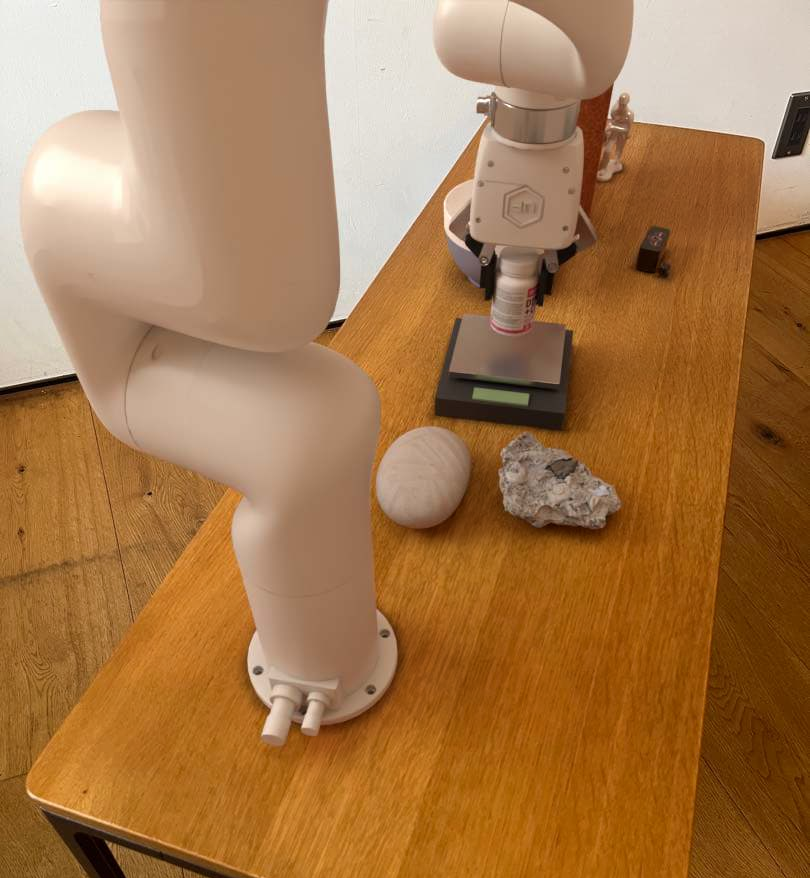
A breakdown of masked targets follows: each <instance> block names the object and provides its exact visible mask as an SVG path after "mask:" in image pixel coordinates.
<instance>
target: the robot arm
mask: <svg viewBox="0 0 810 878" xmlns="http://www.w3.org/2000/svg"><path fill="white" fill-rule="evenodd" d="M329 1H330V0H99V20H100V29H101V30H100V31H101V39H102V45H103V49H104V55H105V59H106V63H107V67H108V71H109V75H110V79H111V84H112V87H113V93H114V96H115V100H116V104H117V109H118V110H112V109H89V110H88V109H87V110H84V111H79V112H74V113H72V114H69V115H66V116H64V117H63V118H61V119H59V120H57V121H55V122H54V123H53V124H52V125H51V126H49V127H48V128H47V129H46V130H45V131H44V133H42V134H41V135H40V136H39V138H38V139H37V141H36V142H35V144H34V146H33V147H32V149H31V152H30V153H29V155H28V157H27V158H28V159H27V161H26V163H25V166H24V170H23V173H22V178H21V184H20V194H19V223H20V224H19V225H20V231H21V237H22V242H23V249H24V253H25V255H26V258H27V262H28V265H29V269H30V270H31V273H32V275H33V278H34V280H35V283H36V285H37V288H38V290H39V292H40V295H41V297H42V299H43V300H42V301H44V304H45V306H46V308H47V311H48V314H49V316H50V318H51V320H52V323H53V325H54V327H55V329H56V331H57V334H58V336H59V338H60V341H61V343H62V345H63V347H64V349H65V352H66V354H67V356H68V359H69V360H70V363H71V365H72V368H73V370H74V372H75V374H76V377H77V379H78V380H79V383H80V385H81V387H82V389H83V392H84V394H85V396H86V398H87V400H88V403H89V404H90V406H91V408H92V410H93V412H94V413H95V415H96V417H97V418H98V419H99V421H100V422H101V424H102V425H103V426H104V427H105V429H106V430H107V431H108V432H109V433H110V434H111V435H112V436H113V437H114V438H115V439H117V440H118V441H120V442H121V443H123V444H124V445H126V446H128V447H130V448H132V449H134V450H136V451H138V452H139V453H140V452H141V453H143V454H145V455H148V456H149V457H152V458H155V459H158V460H161V461H163V462H166V463H169V464H171V465H174V466H176V467H179V468H181V469H184V470H187V471H189V472H192V473H195V474H198V475H201V476H202V477H203V478H206V479H208V480H210V481H212V482H215V483H219V484H221V485H223V486H226V487H227V488H230V489H233V490H234V491H236V492H238V493H240V494H241V495H242V497H241V499H240V500H239V503H238V504H237V506H236V508H235V511H234V513H233V516H232V521H231V526H230V535H231V543H232V548H233V552H234V555H235V556H234V557H235V559H236V562H237V565H238V568H239V571H240V575H241V579H242V582H243V585H244V588H245V592H246V596H247V601H248V603H249V604H248V605H249V608H250V611H251V615H252V617H253V621H254V626H255V629H256V630H255V631H254V633H253V635H252V637H251V641H250V643H249V646H248V651H247V658H246V659H247V661H246V662H247V671H248V676H249V679H250V682H251V685H252V687H253V689H254V692H255V694H256V695H257V697H258V699H260V700H261V702H262V703H263V704H264V706H266V707H267V708H268V709H270V712H269V714H268V715H267V717H266V719H265V723H264V724H263V728H262V731H261V734H260V740H261V741H262V742H263V743H264V744H266V745H269V746H272V747H283V746H285V745H286V741H287V739H288V734H289V732H290V729H291V726H292V723H293V722H294V723H297V724H300V725H301V727H300V732H301V733H302V734H303V735H305V736H308V737H317V736H318V734H319V731H320V729H321V728H320V727H321V726H330V725H335V724H340V723H343V722H346V721H349V720H351V719H354V718H356V717H358V716H360V715H362V714H363V713H365V712H367V711H368V710H369V709H371V708H372V707H373V706H374V705H376V703H378V701H380V700H381V699H382V697H383V696H384V695H385V693H386V692H387V691H388V690H389V688H390V686H391V684H392V681H393V679H394V678H395V675H396V670H397V666H398V644H397V638H396V635H395V632H394V630H393V629H394V628H393V627H392V625H391V624H390V621H389V620H388V619H387V617H386V616H385V615H384V614H383V613H382V612H381V611H380V610H379V609H378V608H377V597H376V595H377V594H376V582H375V579H376V578H375V563H374V552H373V551H374V548H373V538H372V537H373V536H372V517H371V497H372V496H371V491H372V490H371V489H372V479H373V471H374V466H375V461H376V460H375V459H376V455H377V449H378V444H379V438H380V433H381V426H382V401H381V396H380V394H379V393H380V392H379V391H378V387H377V386H376V384H375V382H374V381H373V379H372V377H371V376H370V375H369V374H368V373H367V371H365V369H363V367H361V366H360V365H359V364H358V363H357V362H355V361H354V360H352V359H350V358H349V357H347V356H346V355H344V354H342V353H340V352H338V351H336V350H334V349H332V348H330V347H327V346H325V345H323V344H319V343H317V342H314V340H316V339H317V338H318V337H319V336H320V335H321V334H323V332H325V330H326V329H327V327H328V326H329V323H330V322H331V320H332V318H333V316H334V314H335V312H336V311H335V310H336V306H337V303H338V299H339V294H340V287H341V249H340V248H341V247H340V229H339V220H338V209H337V207H338V206H337V196H336V186H335V174H334V161H333V153H332V152H333V151H332V142H331V141H332V139H331V130H330V119H329V108H328V107H329V105H328V97H327V96H328V95H327V79H326V58H325V56H326V54H325V36H326V35H325V34H326V24H327V15H328V9H329ZM634 4H635V3H634V0H438V2H437V4H436V8H435V12H434V15H433V22H432V40H433V47H434V51H435V54H436V56H437V58H438V61H440V63H441V65H442V66H443V67H444V69H446V70H447V71H448V72H449V73H450V74H452V75H454V76H455V77H458V78H460V79H463V80H466V81H469V82H474V83H479V84H485V85H490V86H494V91H491V93H490V95H486V96H477V100H476V108H475V109H476V112H475V113H476V114H479V115H484V117H488V120H489V122H488V123H487V124H486V125H485V127H484V129H483V131H482V134H481V137H480V140H479V146H478V148H477V149H478V150H477V154H476V160H475V166H474V175H473V179H474V182H473V190H472V197H471V198H470V199H469V200H468V201H467V202H466V204H465V205H464V206H463V207H462V208H461V209H460V210H459V211H458V212H457V213H456V215H455V216H454V217H453V218H452V219H451V221H450V225H449V230H450V231H451V232H452V233H453V234H454V235H455V236H457V237H458V238H459V239H460V240H461V241H464V242H465V245H466V246H467V247H468V248H469V250H470V251H471V252H472V253H473V254H474V255H475V256H476V257H477V258H478V262H479V264H480V265H481V273H480V288H479V289H481V288H483V289H485V290H484V302H490V301H492V296H493V284H494V274H495V271H496V264H497V255H496V252H495V247H496V245H501V246H511V247H522V248H533V249H544V255H545V259H543V260H542V267H541V273H540V281H539V288H538V295H537V302H536V306H538V307H542V308H543V307H544V301H545V296H552V293H553V287H554V280H555V273H556V272H558V270H559V267H561V266H562V265H564V264H565V263H567V262H568V261H570V260H571V259H572V258H574V257H575V256H576V254H577V253H579V252H582V251H584V250H587V249H588V248H590V247H592V246H593V245H595V244H596V243H597V237H598V233H597V230H596V229H595V227H594V225H593V224H592V222H591V220H590V219H588V217H587V215H586V214H585V212H584V210H583V209H582V207H581V205H580V196H581V187H582V178H583V165H584V142H583V133H582V130H581V129H580V128H579V127H578V126H577V122H578V115H579V109H580V102H581V100H585V99H591V98H595V97H597V96H599V95H601V94H603V93H604V92H605V91H607V90H608V89H609V88H610V87H611V86H612V84H613V83H614V84H615V82H616V81H617V79H618V77H619V76H620V74H621V72H622V70H623V68H624V66H625V63H626V60H627V58H628V54H629V50H630V48H631V47H630V46H631V41H632V36H633V28H634V27H633V26H634V12H635V11H634V10H635V7H634V6H635V5H634ZM479 220H480V221H479ZM469 221H470V225H469V224H468V222H469ZM575 230H576V231H577V232H578V234H577V235H576V236H575V237H574V234H575ZM483 289H482V290H483Z"/></svg>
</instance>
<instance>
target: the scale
mask: <svg viewBox="0 0 810 878" xmlns="http://www.w3.org/2000/svg"><path fill="white" fill-rule="evenodd" d="M461 321H462V317H455V319H454V324H453V327H452V331H451V335H450V339H449V342H448V346H447V350H446V354H445V358H444V361H443V364H442V365H443V366H442V369H441V373H440V376H439V381H438V385H437V388H436V392H435V394H434V395H435V397H434V416H439V417H448V418H455V419H462V420H472V421H478V422H479V421H480V422H487V423H495V424H497V423H498V424H503V425H504V424H505V425H512V426H519V427H528V428H535V429H545V430H553V431H561V432H562V431H563V427H564V422H565V416H566V412H567V411H566V409H567V400H568V398H567V397H568V388H569V379H570V369H571V359H572V348H573V338H574V337H573V336H574V329H573V330H572V329H565V338H564V348H563V357H562V366H561V375H560V384H559V389H549V388H541V387H532V386H524V385H515V384H507V383H498V382H489V381H481V380H472V379H464V378H455V377H449V368H450V365H451V361H452V357H453V353H454V349H455V345H456V341H457V337H458V333H459V329H460V325H461Z"/></svg>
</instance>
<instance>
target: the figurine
mask: <svg viewBox="0 0 810 878" xmlns="http://www.w3.org/2000/svg"><path fill="white" fill-rule="evenodd" d="M630 98H631V97H630V93H627V92H622V93H621V94H620V95H619V96H618V99H617V100H616V101H615V103H614V104H613V106H612V108H611V109H610V112H609V113H610V118H611V120H610V121H609V122H608V123H607V125H606V130H605V135H604V141H603V146H602V149H604V150H603V154H602V156H601V164H602V165H601V169H600V170H598V174H597V180H596V182H608V181H609V180H611V179H612V177H613V174H616V173H619V172H621V171H622V170H623V164H622V163H621V161H620V160H621V158H622V155H623V153H624V148H625V147H626V143H627V141H628V140H630V139H631V137H632V132H631V129H632V127H633V123H634V121H635V112H634V111H632V110H631V109H630V108H629V106H628V104H629V103H630V100H631V99H630ZM614 148H615V150H614ZM613 150H614V156H615V158H614V159H613V158H612V159H611V154H612V151H613Z"/></svg>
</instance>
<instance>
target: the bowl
mask: <svg viewBox="0 0 810 878" xmlns="http://www.w3.org/2000/svg"><path fill="white" fill-rule="evenodd" d="M473 182H474V178H472V179H468V180H466V181H464V182H462V183H459V184H457V185H456V186H455V187H453V188H452V189H451V190H450V191H449V192H448V193H447V194H446V196H445V198H444V201H443V228H444V232H445V238H446V244H447V248H448V250H449V253H450V255H451V256H452V257H451V258H453V261H454V262H455V264H456V266H457V267H458V269H459V270H460V271H461V272H462V273H463V274H464V275H465V276H466V277H467V279H468V281H470V283H471V284H473V285H474V286H475V287H477V288H479V289H480V290H483V291H485V289H483V288H480V273H481V265H480V264H479V262H478V258H477V257H476V256H475V255H474V254H473V253H472V252H471V251H470V250H469V248H468V247H467V246H466V245H465V242H464V241H461V240H460V239H459V238H458V237H457V236H455V235H454V234H453V233H452V232H451V231H450V230H449V225H450V221H451V219H452V218H453V217H454V216H455V215H456V213H457V212H458V211H459V210H460V209H461V208H462V207H463V206H464V205H465V204H466V202H467V201H468V200H469V199H470V198H471V197H472V190H473ZM479 221H480V220H479ZM468 224H469V225H470V221H469V222H468ZM505 247H507V246H501V245H496V247H495V252H496V255H497V264H496V269H497V268H498V267H499V259H500V252H501V250H502V249H503V248H505ZM536 250H537V251H538V253H539V264H538V269H537V270H538V271H539V274H540V273H541V267H542V260H543V259H545V255H544V249H536Z"/></svg>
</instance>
